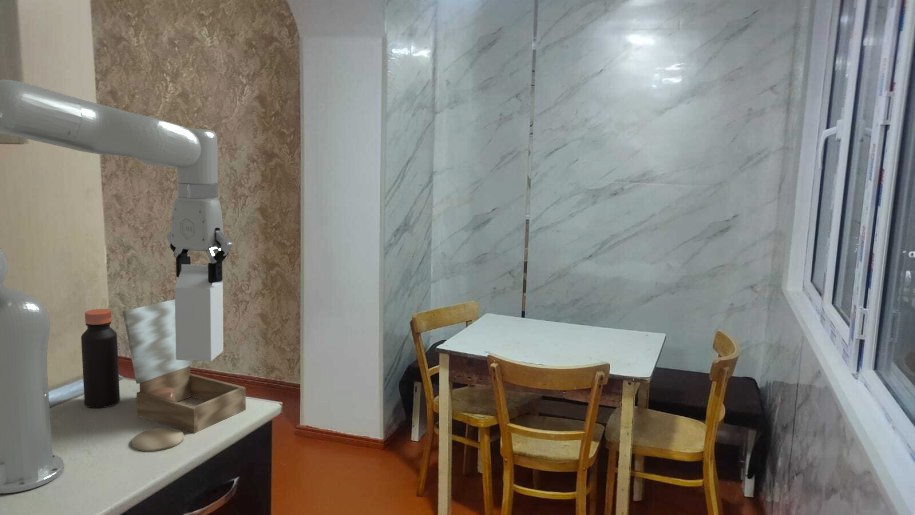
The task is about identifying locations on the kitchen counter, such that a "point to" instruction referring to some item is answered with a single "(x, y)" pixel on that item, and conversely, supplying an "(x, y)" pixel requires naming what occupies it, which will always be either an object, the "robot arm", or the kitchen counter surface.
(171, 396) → the tan rounded ovoid
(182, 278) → the milk carton
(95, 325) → the bottle
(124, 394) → the kitchen counter surface
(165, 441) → the coaster
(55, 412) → the kitchen counter surface
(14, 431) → the robot arm
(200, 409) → the box
